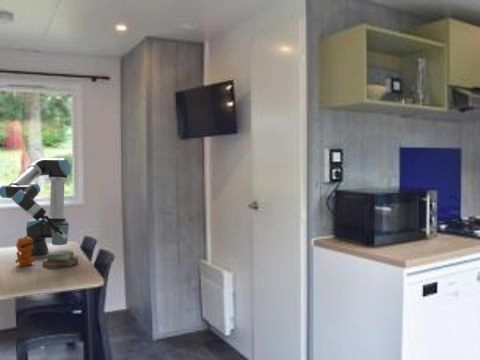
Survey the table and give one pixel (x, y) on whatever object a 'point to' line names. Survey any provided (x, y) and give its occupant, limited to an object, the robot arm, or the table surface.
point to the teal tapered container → (56, 237)
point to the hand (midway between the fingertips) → (65, 236)
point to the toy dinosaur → (24, 251)
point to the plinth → (60, 264)
